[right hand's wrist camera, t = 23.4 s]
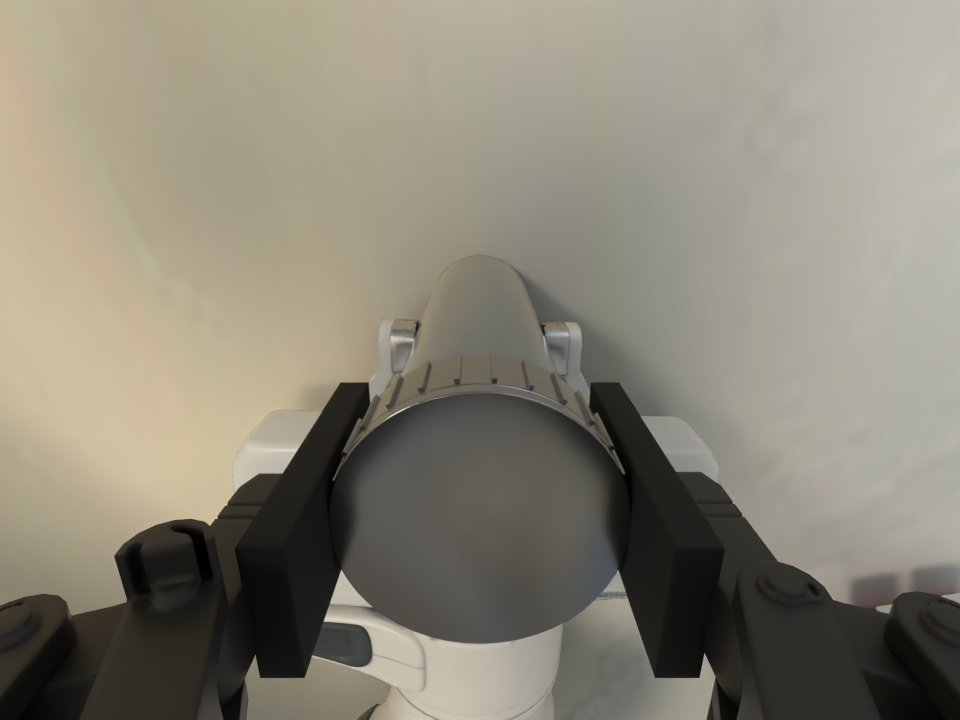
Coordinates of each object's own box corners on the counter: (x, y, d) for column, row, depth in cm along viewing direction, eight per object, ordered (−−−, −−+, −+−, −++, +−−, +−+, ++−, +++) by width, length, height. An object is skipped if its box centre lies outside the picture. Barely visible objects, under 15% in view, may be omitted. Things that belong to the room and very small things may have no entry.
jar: (492, 367, 29) (509, 627, 13) (412, 317, 28) (319, 529, 12) (548, 291, 27) (647, 474, 11) (465, 235, 26) (442, 347, 10)
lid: (307, 517, 13) (276, 580, 11) (419, 299, 11) (407, 327, 9) (526, 611, 14) (534, 683, 12) (663, 425, 12) (699, 476, 10)
